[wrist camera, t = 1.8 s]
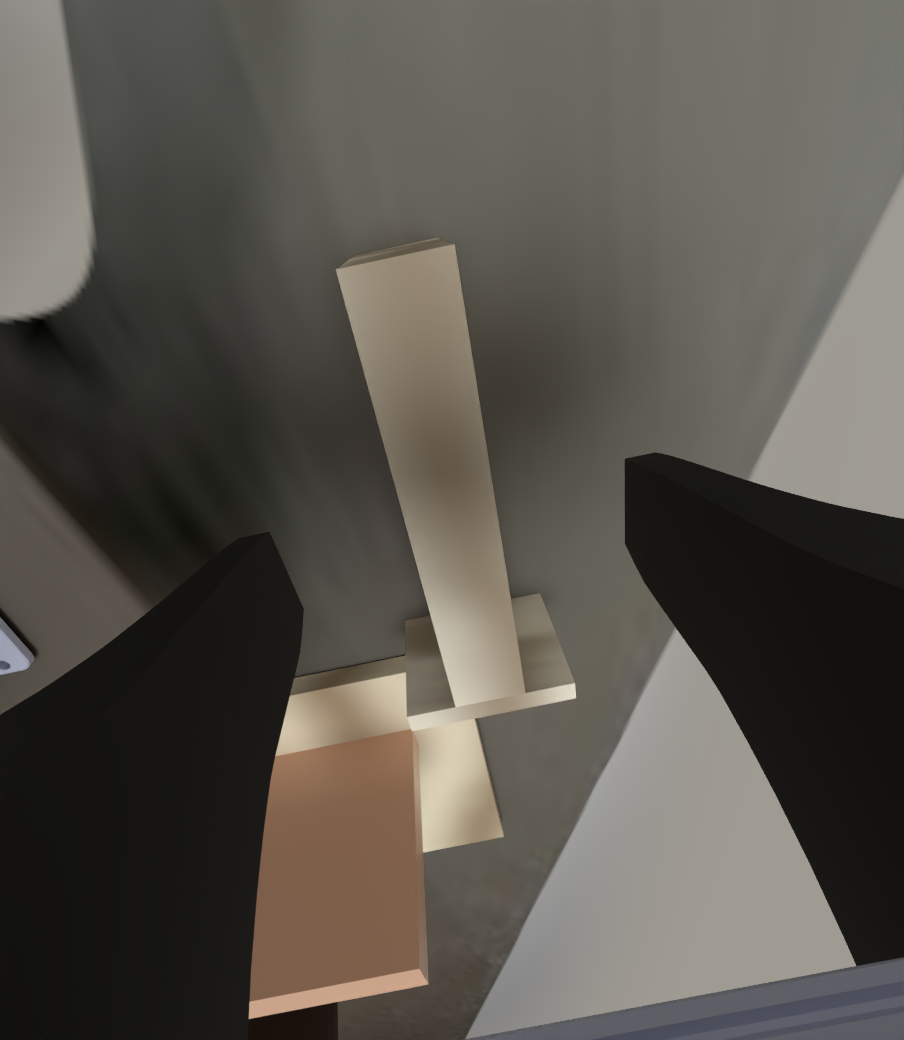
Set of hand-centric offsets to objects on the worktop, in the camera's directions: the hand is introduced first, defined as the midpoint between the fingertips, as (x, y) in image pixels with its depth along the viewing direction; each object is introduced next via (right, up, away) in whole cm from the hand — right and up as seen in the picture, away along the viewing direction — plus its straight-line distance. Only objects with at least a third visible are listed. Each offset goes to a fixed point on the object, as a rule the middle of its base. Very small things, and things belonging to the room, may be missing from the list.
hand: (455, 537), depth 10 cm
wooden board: (-5, -13, +17) cm, 22 cm away
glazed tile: (-5, -11, +14) cm, 19 cm away
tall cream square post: (0, +2, +8) cm, 8 cm away
